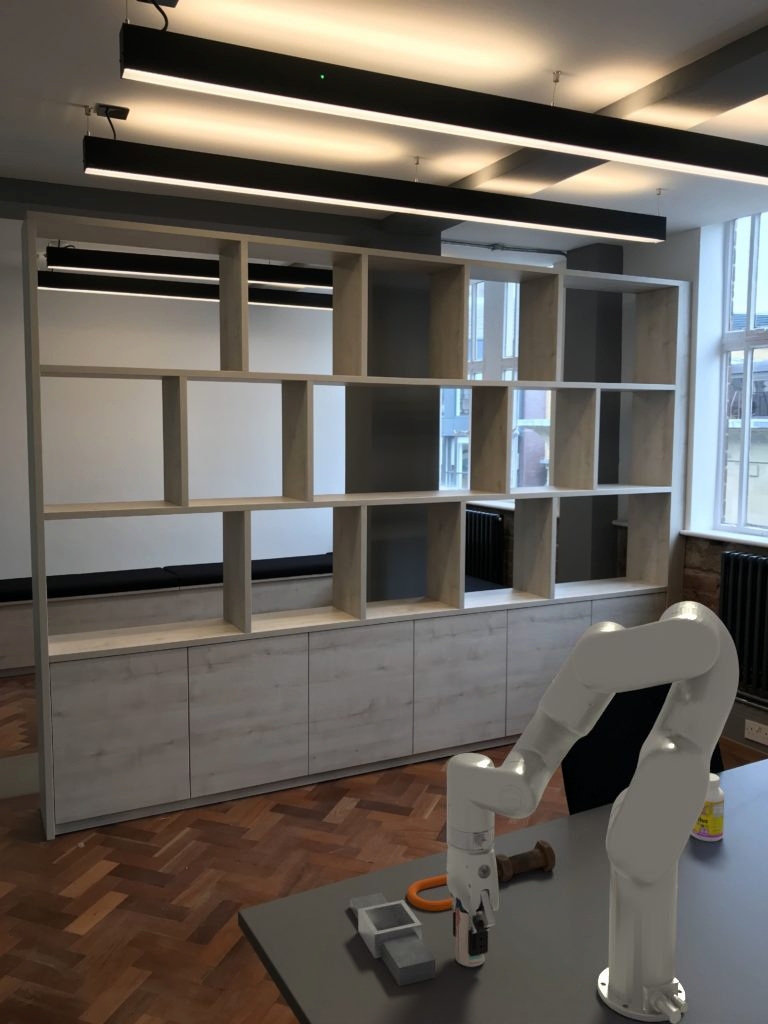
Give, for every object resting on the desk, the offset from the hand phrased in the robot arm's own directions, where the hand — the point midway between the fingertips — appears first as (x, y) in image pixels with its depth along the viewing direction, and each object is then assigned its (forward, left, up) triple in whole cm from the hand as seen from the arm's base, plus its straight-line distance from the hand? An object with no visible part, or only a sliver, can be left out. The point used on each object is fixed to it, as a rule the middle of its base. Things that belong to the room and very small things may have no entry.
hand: (470, 942), depth 137 cm
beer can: (0, 0, -3) cm, 3 cm away
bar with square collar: (+10, +10, -3) cm, 14 cm away
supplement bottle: (+22, -66, -3) cm, 70 cm away
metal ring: (+20, -5, -4) cm, 21 cm away
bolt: (+22, -20, -3) cm, 30 cm away
